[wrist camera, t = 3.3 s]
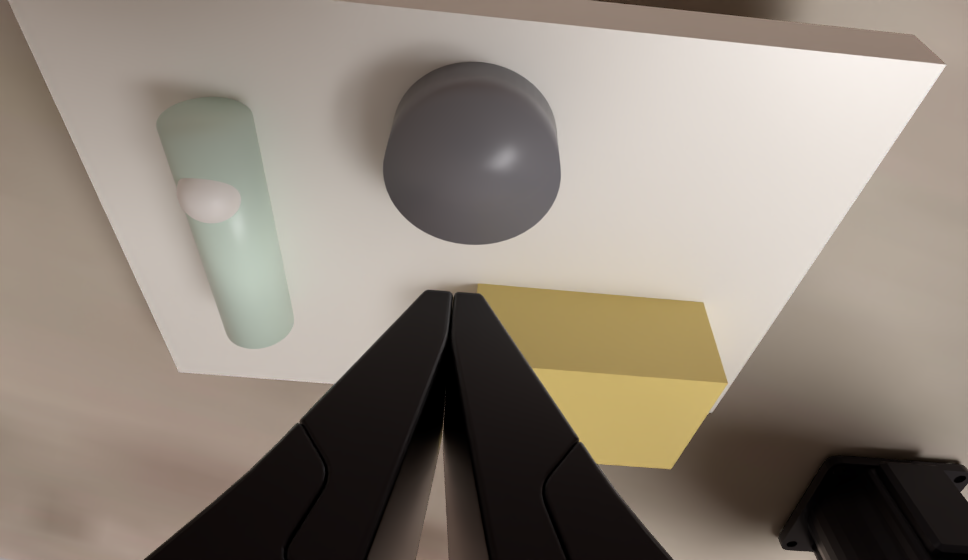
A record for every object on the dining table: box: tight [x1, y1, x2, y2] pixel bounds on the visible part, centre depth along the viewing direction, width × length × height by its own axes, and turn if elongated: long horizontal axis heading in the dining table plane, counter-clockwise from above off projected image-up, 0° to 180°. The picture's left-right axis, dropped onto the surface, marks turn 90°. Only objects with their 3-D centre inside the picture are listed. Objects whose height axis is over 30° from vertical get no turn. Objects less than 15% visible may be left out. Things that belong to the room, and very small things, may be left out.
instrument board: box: [8, 0, 946, 469], centre depth 17 cm, size 14×20×4 cm
